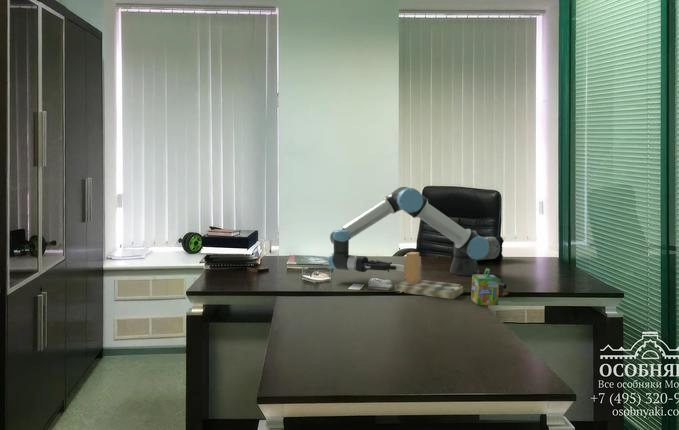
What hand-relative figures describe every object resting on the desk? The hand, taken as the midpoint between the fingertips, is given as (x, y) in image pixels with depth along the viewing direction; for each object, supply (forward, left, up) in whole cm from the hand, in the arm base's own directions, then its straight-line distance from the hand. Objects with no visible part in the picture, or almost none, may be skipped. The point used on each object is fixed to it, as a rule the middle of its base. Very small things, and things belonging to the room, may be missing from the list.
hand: (403, 268), depth 270 cm
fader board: (-9, +9, -10) cm, 16 cm away
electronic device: (-36, +21, -10) cm, 43 cm away
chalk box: (-24, +33, -10) cm, 42 cm away
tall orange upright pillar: (-3, +3, -6) cm, 8 cm away
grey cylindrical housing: (-70, -58, -10) cm, 92 cm away
